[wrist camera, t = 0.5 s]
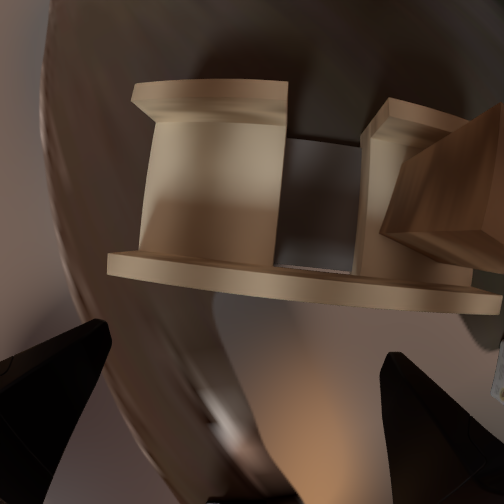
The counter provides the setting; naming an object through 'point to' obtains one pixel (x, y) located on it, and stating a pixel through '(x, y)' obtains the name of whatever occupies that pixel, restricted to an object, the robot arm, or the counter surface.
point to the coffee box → (499, 377)
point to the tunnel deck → (284, 203)
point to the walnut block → (454, 197)
